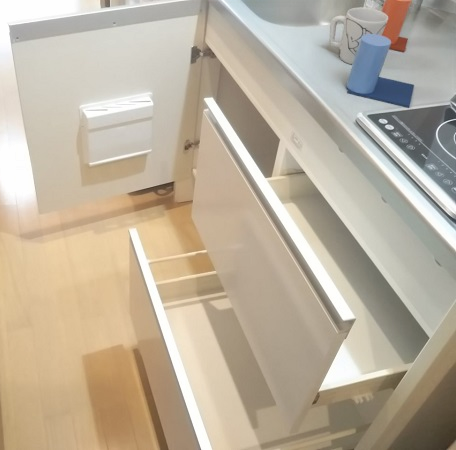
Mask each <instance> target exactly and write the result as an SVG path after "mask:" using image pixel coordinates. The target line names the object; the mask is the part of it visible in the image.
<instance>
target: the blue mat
mask: <svg viewBox="0 0 456 450" xmlns="http://www.w3.org/2000/svg"><path fill="white" fill-rule="evenodd" d="M414 89H415V84H412V83H408V82H403V81H400V80H395V79H390V78H386V77H382V76H379V79H378V81H377V84H376V87H375V90H374V91H373V92H372V93H369V94H360V93H356V92H353V91H351V90H349V89H348V88H347V92H346V93H347V94H349V95H354V96H359V97H362V98H367V99H369V100H374V101H380V102H384V103H387V104H392V105H395V106H400V107H404V108H408V109H409V108H410V107H411V102H412V98H413V94H414V93H413V92H414Z"/></svg>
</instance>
